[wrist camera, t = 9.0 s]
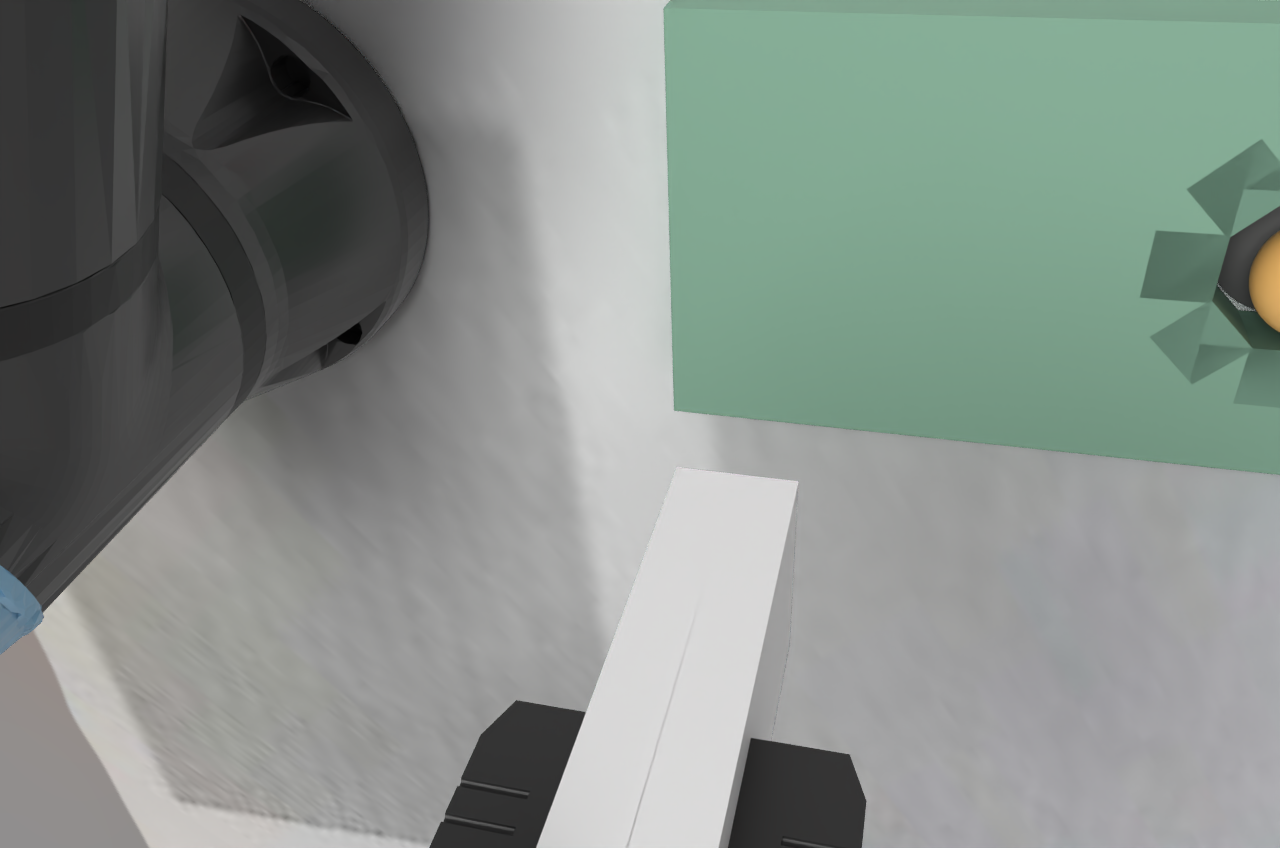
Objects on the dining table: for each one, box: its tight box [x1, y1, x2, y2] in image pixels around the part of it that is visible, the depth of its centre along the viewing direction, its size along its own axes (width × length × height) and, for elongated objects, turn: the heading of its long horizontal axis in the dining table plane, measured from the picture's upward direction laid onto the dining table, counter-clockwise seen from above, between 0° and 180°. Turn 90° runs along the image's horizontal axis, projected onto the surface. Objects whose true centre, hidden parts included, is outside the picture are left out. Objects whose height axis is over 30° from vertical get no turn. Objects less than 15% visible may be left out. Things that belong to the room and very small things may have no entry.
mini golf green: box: [664, 0, 1280, 475], centre depth 31 cm, size 24×14×12 cm, turn 92°
